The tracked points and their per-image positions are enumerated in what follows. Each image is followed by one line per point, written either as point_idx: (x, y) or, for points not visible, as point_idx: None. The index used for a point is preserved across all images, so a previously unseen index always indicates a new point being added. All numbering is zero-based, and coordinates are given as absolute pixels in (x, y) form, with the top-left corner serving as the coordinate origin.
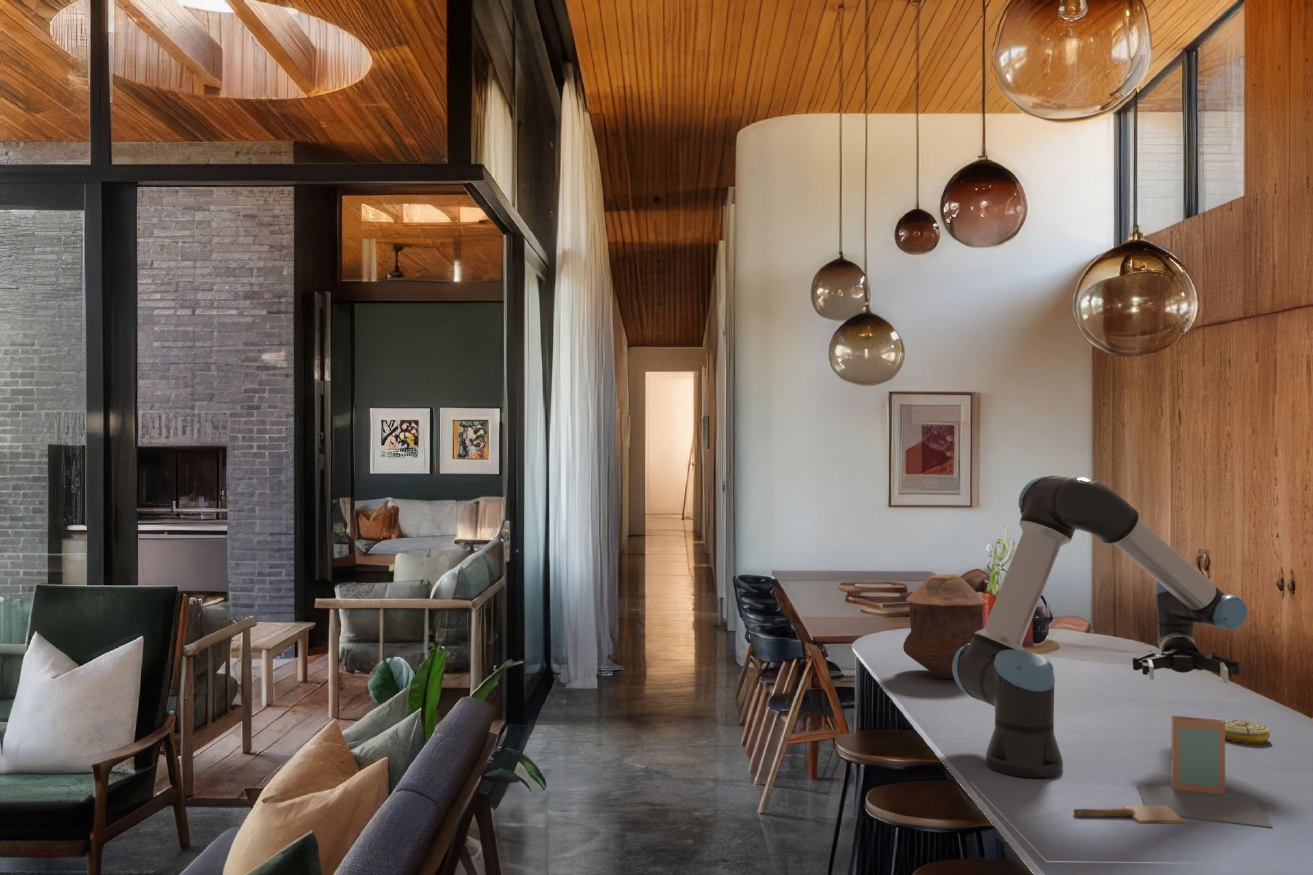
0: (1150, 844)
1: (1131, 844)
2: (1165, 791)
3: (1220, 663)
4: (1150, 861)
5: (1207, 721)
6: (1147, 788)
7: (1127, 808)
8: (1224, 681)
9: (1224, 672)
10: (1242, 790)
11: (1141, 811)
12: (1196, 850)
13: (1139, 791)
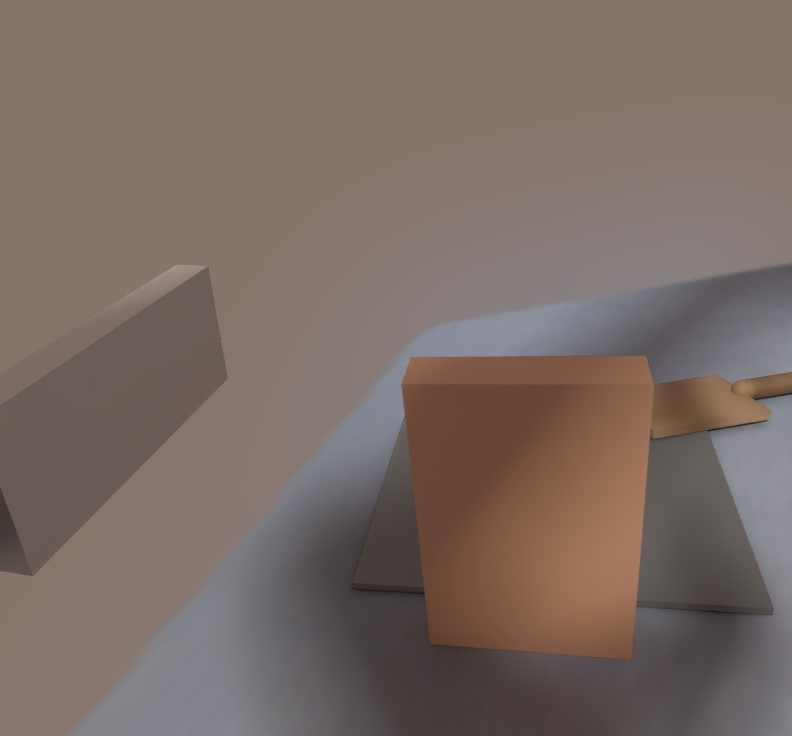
0: (680, 325)
1: (716, 319)
2: (656, 568)
3: (25, 389)
4: (676, 290)
5: (485, 357)
6: (726, 581)
7: (751, 382)
8: (224, 369)
9: (207, 293)
10: (339, 680)
11: (716, 400)
12: (596, 326)
13: (750, 547)
